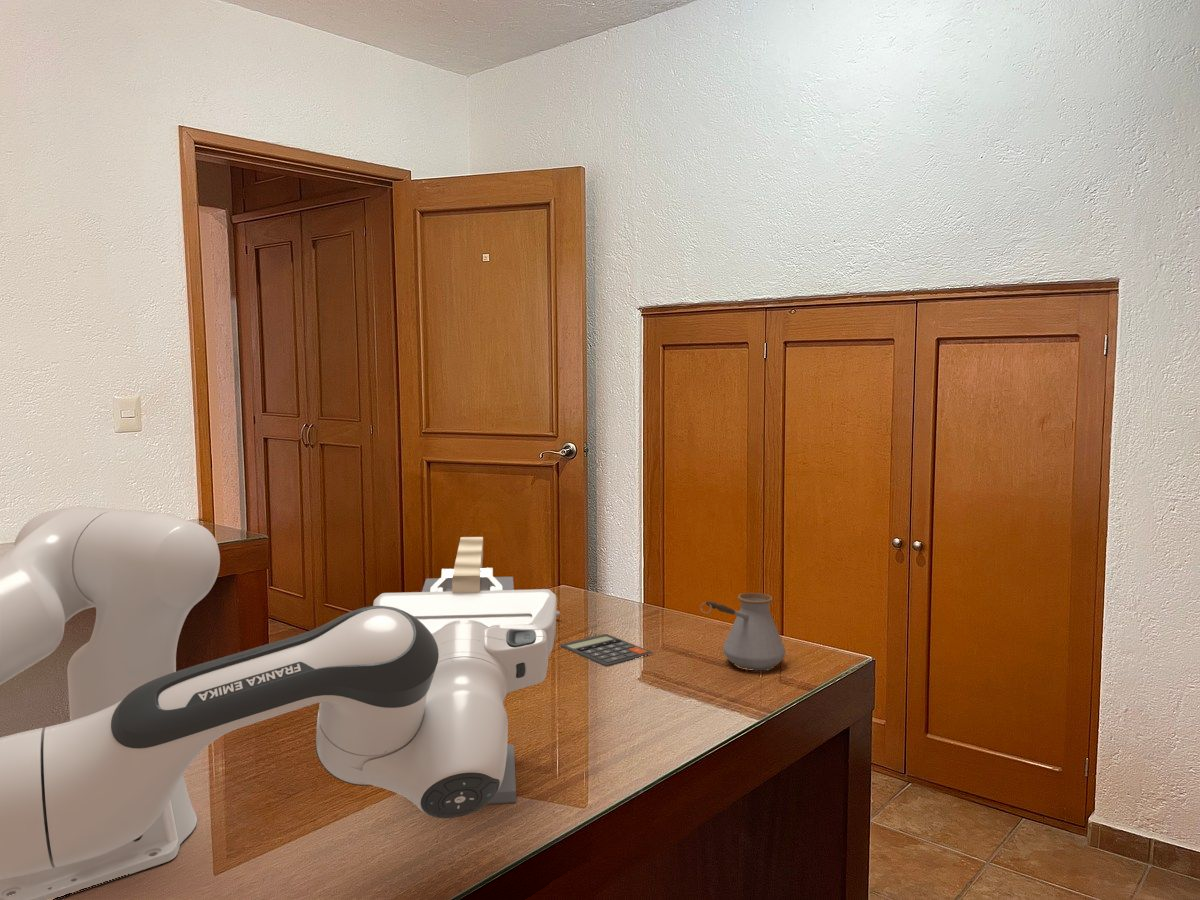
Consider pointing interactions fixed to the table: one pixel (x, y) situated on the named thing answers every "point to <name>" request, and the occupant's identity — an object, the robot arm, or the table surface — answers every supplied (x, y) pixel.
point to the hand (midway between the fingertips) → (467, 572)
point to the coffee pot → (752, 633)
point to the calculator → (606, 649)
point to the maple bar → (468, 565)
